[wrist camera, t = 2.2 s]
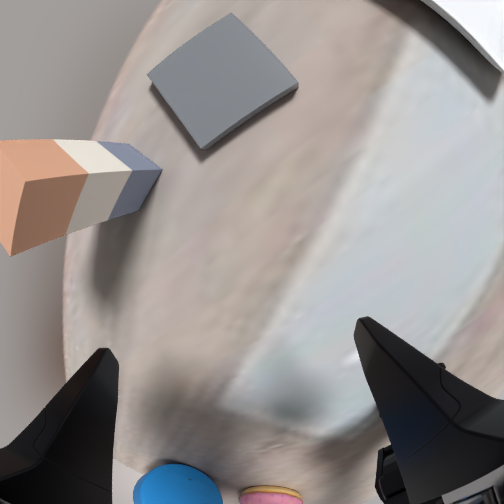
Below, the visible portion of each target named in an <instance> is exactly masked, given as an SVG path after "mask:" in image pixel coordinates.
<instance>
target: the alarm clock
mask: <svg viewBox="0 0 504 504" xmlns="http://www.w3.org/2000/svg"><path fill="white" fill-rule="evenodd" d="M133 501H134V504H223V500H222V496H221V494H220V491H219V489H218V488H217V486H216V485H215V483H214V482H213V481H212V480H211V479H210V478H209V477H208V476H207V475H205V474H204V473H202V472H201V471H199V470H197V469H195V468H193V467H190V466H187V465H182V464H165V465H161V466H158V467H156V468H154V469H153V470H151V471H149V472H148V473H146V474H145V475H143V476H142V477H141V478H140V479H139V480H138V481H137V483H136V485H135V487H134V491H133Z"/></svg>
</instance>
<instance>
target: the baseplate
mask: <svg viewBox="0 0 504 504" xmlns="http://www.w3.org/2000/svg"><path fill="white" fill-rule="evenodd" d="M147 76H148V77H149V78H150V80H151V81H152V82H153V84H154V85H155V86H156V88H157V89H158V90H159V92H160V93H161V95H162V96H163V97H164V99H165V100H166V101H167V103H168V104H169V105H170V107H171V108H172V110H173V111H174V112H175V114H176V115H177V117H178V118H179V119H180V121H181V122H182V123H183V125H184V126H185V128H186V129H187V130H188V132H189V133H190V135H191V136H192V137H193V139H194V140H195V142H196V143H197V144H198V146H199V147H200V149H204V150H207V149H208V148H210V147H211V146H212V145H214V144H215V143H216V142H218V141H219V140H220V139H222V138H223V137H224V136H226V135H227V134H228V133H230V132H231V131H233V130H234V129H235V128H237V127H238V126H240V125H241V124H242V123H244V122H245V121H247V120H248V119H250V118H251V117H253V116H254V115H256V114H257V113H259V112H260V111H262V110H263V109H265V108H266V107H268V106H269V105H271V104H272V103H274V102H275V101H277V100H279V99H280V98H282V97H283V96H285V95H287V94H288V93H290V92H292V91H293V90H295V89H297V88H298V81H297V80H296V79H295V78H294V76H293V75H292V74H291V73H290V72H289V71H288V69H287V68H286V67H285V66H284V65H283V64H282V63H281V61H280V60H279V59H278V58H277V57H276V56H275V55H274V54H273V53H272V52H271V51H270V50H269V49H268V47H267V46H266V45H265V44H264V43H263V42H262V41H261V40H260V39H259V38H258V37H257V36H256V35H255V34H254V33H253V32H252V31H251V30H250V29H249V28H248V27H247V26H245V25H244V24H243V23H242V22H241V21H240V20H239V19H238V18H237V17H236V16H235V15H234V14H232V13H230V14H228V15H227V16H225V17H223V18H222V19H220V20H219V21H217V22H215V23H214V24H212V25H211V26H209V27H208V28H206V29H205V30H203V31H202V32H200V33H199V34H197V35H196V36H194V37H193V38H192V39H190V40H189V41H187V42H186V43H185V44H183V45H182V46H181V47H179V48H178V49H177V50H175V51H174V52H173V53H172V54H170V55H169V56H168V57H167V58H165V59H164V60H163V61H162V62H161V63H159V64H158V65H157V66H156V67H155V68H153V69H152V70H151V71H150V72H149V73H148V74H147Z"/></svg>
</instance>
